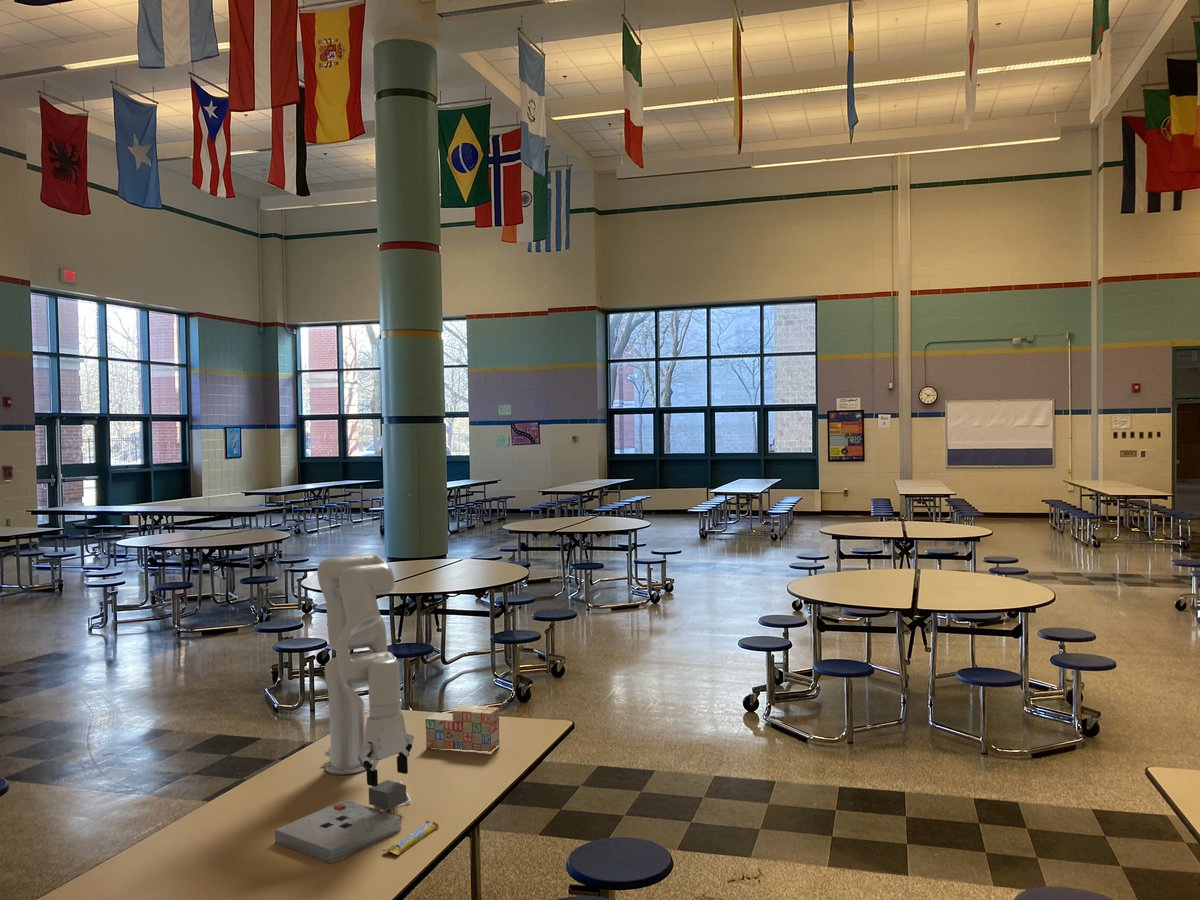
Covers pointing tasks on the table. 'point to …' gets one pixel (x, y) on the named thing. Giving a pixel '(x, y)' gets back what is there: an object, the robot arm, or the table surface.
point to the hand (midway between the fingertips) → (387, 779)
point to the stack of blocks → (464, 729)
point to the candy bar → (412, 838)
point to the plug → (387, 796)
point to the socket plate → (337, 830)
